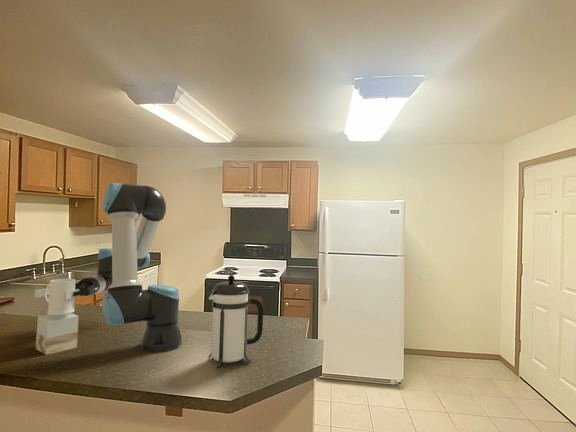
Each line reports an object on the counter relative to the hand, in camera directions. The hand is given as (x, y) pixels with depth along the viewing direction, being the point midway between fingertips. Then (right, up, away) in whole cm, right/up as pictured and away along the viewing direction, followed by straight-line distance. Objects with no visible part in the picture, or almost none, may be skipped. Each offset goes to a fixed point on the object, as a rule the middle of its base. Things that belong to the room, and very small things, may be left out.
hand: (50, 294), depth 123 cm
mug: (0, -7, +3) cm, 8 cm away
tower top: (0, -15, +3) cm, 15 cm away
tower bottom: (0, -21, +3) cm, 21 cm away
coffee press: (+68, -22, -5) cm, 71 cm away
